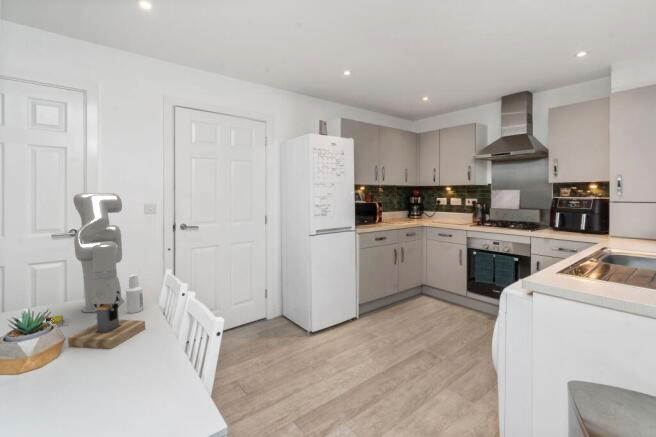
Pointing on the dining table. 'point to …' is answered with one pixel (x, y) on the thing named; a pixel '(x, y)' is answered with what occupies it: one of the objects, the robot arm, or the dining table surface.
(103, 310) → the key peg
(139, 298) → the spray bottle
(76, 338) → the socket block
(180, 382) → the dining table surface
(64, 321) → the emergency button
